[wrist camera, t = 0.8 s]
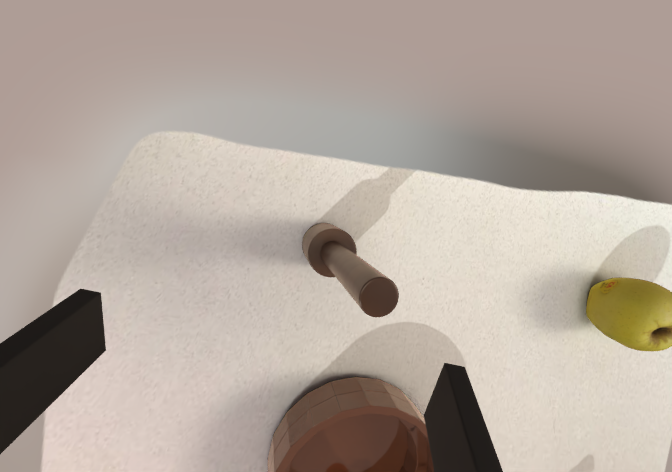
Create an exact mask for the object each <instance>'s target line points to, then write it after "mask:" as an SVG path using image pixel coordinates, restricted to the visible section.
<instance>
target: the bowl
mask: <svg viewBox="0 0 672 472" xmlns="http://www.w3.org/2000/svg"><path fill="white" fill-rule="evenodd" d="M268 472H434V468H433V462H432V457H431V451H430V446H429V440H428V435H427V430H426V424H425V419H424V417H423V416H422V415H421V413H420V412H419V410H418V409H417V407H416V406H415V405H414V403H413V402H412V401H411V400H410V399H409V398H408V397H407V396H406V395H405V394H404V393H403V392H402V391H401V390H400V389H398V388H396V387H394V386H392V385H390V384H388V383H386V382H384V381H382V380H379V379H371V378H363V377H351V378H346V379H341V380H335V381H331V382H329V383H327V384H325V385H323V386H321V387H319V388H317V389H315V390H313V391H311V392H309V393H307V394H306V395H305V396H304V397H303V398H301V399H300V400H299V401H298V402H297V403H296V404H295V405H294V406H293V407H292V408H291V409H290V410H288V411H287V413H286V414H285V416H284V418H283V419H282V421H281V423H280V424H279V426H278V428H277V429H276V431H275V433H274V435H273V438H272V442H271V447H270V451H269V455H268Z"/></svg>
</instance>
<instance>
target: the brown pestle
mask: <svg viewBox="0 0 672 472" xmlns="http://www.w3.org/2000/svg"><path fill="white" fill-rule="evenodd" d="M302 249H303V252H304V255H305V256H306V258H307V260H308V261H309V263H310V265H311V266H312V268H313V269H314V270H315V271H316V272H317V273H319V274H320V275H323V276H326V277H336V278H337V279H338V280H339V281H340V283H341V284H342V285H343V286H344V288H345V289H346V290H347V291H348V293H349V294H350V295H351V296H352V298H353V299H354V300H355V301H356V303H357V304H358V305H359V306H360V308H361V309H362V310H363V311H364V312H365V313H366V314H367V315H369V316H372V317H382V316H385V315H387V314H389V313H390V312H392V311H393V309H394V308H395V307H396V305H397V302H398V298H399V293H398V289H397V287H396V285H395V283H394V282H393V281H392V280H390V279H389V278H387V277H386V276H385V275H383V274H382V273H381V272H379V271H378V270H376V269H375V268H374V267H372V266H371V265H370V264H368V263H367V262H365V261H364V260H363V259H361V258H360V257H358V256H357V255H356V252H357V251H356V245H355V242H354V240H353V239H352V237H351V236H350V235H349V234H348V233H346V232H345V231H343V230H341V229H339V228H337V227H336V226H334V225H331V224H328V223H320V224H316V225H314V226H312V227H311V228H310V229H309V230H308V231H307V232H306V233H305V235H304V237H303V241H302Z"/></svg>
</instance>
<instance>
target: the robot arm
mask: <svg viewBox="0 0 672 472" xmlns="http://www.w3.org/2000/svg"><path fill="white" fill-rule="evenodd" d="M105 351H106V347H105V336H104V324H103V313H102V302H101V293H99V292H94V291H90V290H85V289H80V290H78V291H77V292H75V293H74V294H72V295H71V296H69V297H68V298H66V299H65V300H63V301H62V302H60V303H59V304H58V305H56V306H55V307H53V308H52V309H50V310H49V311H47V312H46V313H44V314H43V315H41V316H40V317H38V318H37V319H36V320H34V321H33V322H31V323H30V324H28V325H27V326H25V327H24V328H22V329H21V330H20V331H18V332H17V333H15V334H14V335H12V336H11V337H9V338H8V339H6V340H5V341H3V342H2V343H0V454H1V453H2V452H3V451H4V450H5V449H6V448H7V447H8V446H9V445H10V444H11V443H12V442H13V441H14V440H15V439H16V438H17V437H18V436H19V435H20V434H21V433H22V432H23V431H24V430H25V429H26V428H27V427H28V426H29V425H30V424H31V423H32V422H33V421H34V420H36V419H37V418H38V417H39V415H41V414H42V413H43V412H44V411H45V410H46V409H47V408H48V407H49V406H50V405H51V404H52V403H53V402H54V401H55V400H56V399H57V398H58V397H59V396H60V395H61V394H62V393H63V392H64V391H65V390H66V389H67V388H68V387H69V386H70V385H71V384H72V383H73V382H74V381H75V380H76V379H77V378H78V377H79V376H80V375H81V374H82V373H83V372H84V371H85V370H86V369H87V368H88V367H89V366H90V365H91V364H92V363H93V362H94V361H95V360H96V359H97V358H98V357H99V356H100V355H101V354H102V353H104V352H105ZM424 419H425V424H426V430H427V435H428V440H429V446H430V451H431V457H432V462H433V468H434V472H503V471H502V468H501V465H500V463H499V460H498V457H497V454H496V452H495V449H494V446H493V443H492V441H491V438H490V435H489V432H488V430H487V427H486V424H485V421H484V419H483V416H482V413H481V410H480V408H479V405H478V402H477V399H476V397H475V394H474V391H473V389H472V386H471V383H470V380H469V378H468V375H467V372H466V369H465V367H462V366H457V365H452V364H447V363H444V366H443V368H442V371H441V373H440V376H439V378H438V381H437V383H436V386H435V388H434V391H433V394H432V396H431V399H430V401H429V404H428V406H427V409H426V411H425V414H424Z"/></svg>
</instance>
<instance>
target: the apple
mask: <svg viewBox="0 0 672 472" xmlns="http://www.w3.org/2000/svg"><path fill="white" fill-rule="evenodd" d="M586 314H587V317H588V318H589V320H590V321H591V322H592V323H593V324H594V325H595V326H596V327H597V328H598V329H599V330H600V331H601V332H602V333H603V334H605V335H606V336H608V337H609V338H611V339H613V340H615V341H617V342H619V343H621V344H622V345H624V346H626V347H628V348H632V349H635V350H640V351H660V350H664V349H667V348H669V347H671V346H672V292H670V291H669V290H667V289H666V288H664V287H662V286H660V285H658V284H655V283H652V282H649V281H645V280H640V279H632V278H611V279H608V280H605V281H602V282H599V283H597V284H595V285H594V286H593V287H592V288H591V290H590V292H589V296H588V300H587V307H586Z"/></svg>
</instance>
